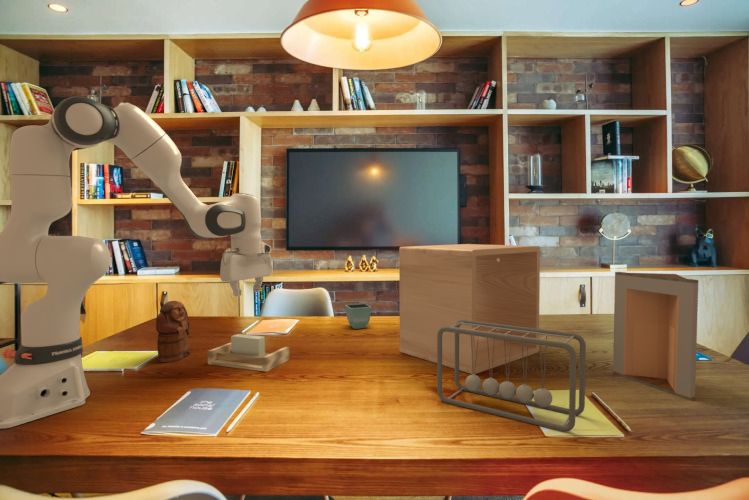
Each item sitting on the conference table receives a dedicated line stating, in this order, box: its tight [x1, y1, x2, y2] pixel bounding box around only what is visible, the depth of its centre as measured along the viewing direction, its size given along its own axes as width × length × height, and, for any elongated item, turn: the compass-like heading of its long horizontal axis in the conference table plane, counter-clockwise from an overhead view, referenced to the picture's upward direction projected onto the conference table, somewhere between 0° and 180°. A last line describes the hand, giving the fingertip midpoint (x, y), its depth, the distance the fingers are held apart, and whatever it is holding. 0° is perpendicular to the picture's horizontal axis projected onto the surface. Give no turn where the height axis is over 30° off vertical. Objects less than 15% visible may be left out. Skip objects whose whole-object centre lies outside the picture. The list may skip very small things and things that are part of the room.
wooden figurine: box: [155, 300, 191, 363], centre depth 139 cm, size 12×6×18 cm, turn 175°
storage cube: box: [398, 243, 541, 375], centre depth 143 cm, size 34×29×34 cm
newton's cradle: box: [436, 320, 587, 433], centre depth 99 cm, size 30×10×18 cm, turn 54°
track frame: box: [207, 342, 290, 373], centre depth 134 cm, size 12×21×4 cm, turn 69°
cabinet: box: [612, 271, 699, 401], centre depth 113 cm, size 21×10×28 cm, turn 21°
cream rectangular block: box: [230, 333, 266, 357], centre depth 134 cm, size 3×10×7 cm, turn 69°
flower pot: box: [345, 303, 372, 330], centre depth 180 cm, size 9×9×9 cm
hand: (247, 293), depth 133 cm, fingers open, 8 cm apart
